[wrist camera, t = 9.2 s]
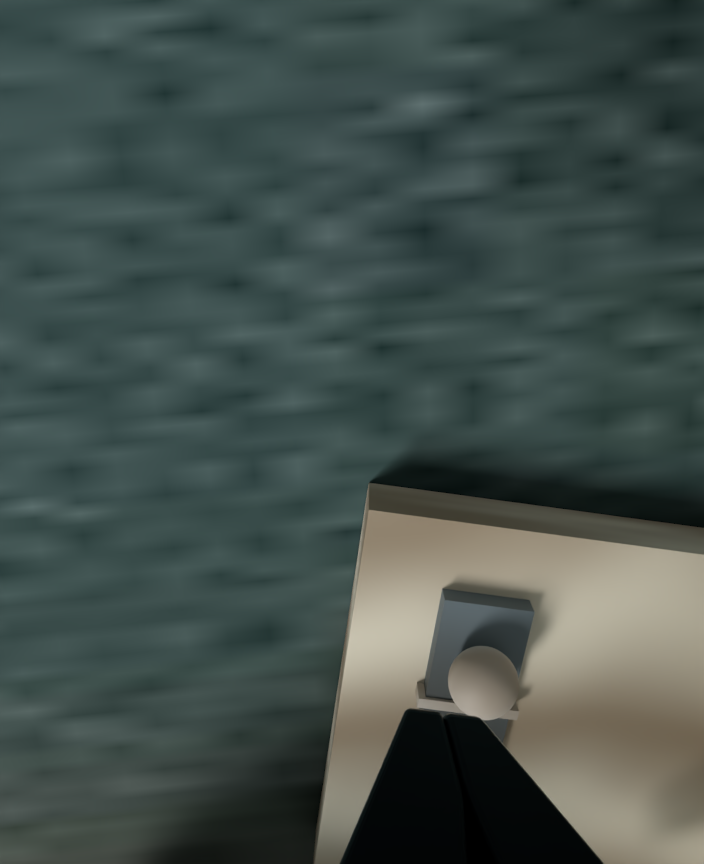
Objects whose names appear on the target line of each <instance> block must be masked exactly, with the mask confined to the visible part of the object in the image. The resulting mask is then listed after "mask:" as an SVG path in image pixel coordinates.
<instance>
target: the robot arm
mask: <svg viewBox="0 0 704 864" xmlns="http://www.w3.org/2000/svg"><path fill="white" fill-rule="evenodd" d="M340 864H604V863H603V862H602V860H601V859H600V858H599V857H598V856H597V855H596V853H595V852H594V851H593V850H592V849H591V847H590V846H589V845H588V844H587V843H586V842H585V840H584V839H583V838H582V837H581V836H580V834H579V833H578V832H577V831H576V830H575V829H574V827H573V826H572V825H571V824H570V823H569V821H568V820H567V819H566V818H565V817H564V815H563V814H562V813H561V812H560V811H559V810H558V808H557V807H556V806H555V805H554V804H553V802H552V801H551V800H550V799H549V798H548V797H547V795H546V794H545V793H544V792H543V791H542V789H541V788H540V787H539V786H538V785H537V784H536V782H535V781H534V780H533V779H532V778H531V776H530V775H529V774H528V773H527V772H526V770H525V769H524V768H523V767H522V766H521V765H520V763H519V762H518V761H517V760H516V759H515V757H514V756H513V755H512V754H511V753H510V752H509V750H508V749H507V748H506V747H505V746H504V744H503V743H502V742H501V741H500V740H499V739H498V737H497V736H496V735H495V734H494V733H493V731H492V730H491V729H490V728H489V727H488V725H487V724H486V723H485V722H484V721H483V720H482V719H481V718H479V717H476V716H470V715H462V714H454V713H447V714H445V715H444V716H442V714H440V713H439V712H437V711H431V710H423V709H415V708H409V709H407V710H406V711H405V712H404V714H403V716H402V719H401V721H400V723H399V726H398V728H397V731H396V733H395V735H394V738H393V740H392V742H391V745H390V747H389V749H388V752H387V754H386V756H385V759H384V761H383V763H382V766H381V768H380V770H379V773H378V775H377V777H376V780H375V782H374V784H373V787H372V789H371V791H370V794H369V796H368V798H367V801H366V803H365V805H364V808H363V810H362V812H361V815H360V817H359V819H358V822H357V824H356V826H355V829H354V831H353V834H352V836H351V838H350V841H349V843H348V845H347V848H346V850H345V852H344V855H343V857H342V859H341V862H340Z"/></svg>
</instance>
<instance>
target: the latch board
mask: <svg viewBox="0 0 704 864" xmlns="http://www.w3.org/2000/svg"><path fill="white" fill-rule="evenodd" d="M409 708H415V709H423V710H431V711H437V712H439V713H440V714H442V716H444V715H445V714H447V713H454V714H462V715H470V716H476V717H479V718H481V719H482V720H483V721H484V722H485V723H486V724H487V725H488V727H489V728H490V729H491V730H492V731H493V733H494V734H495V735H496V736H497V737H498V739H499V740H500V741H501V742H502V743H503V744H504V746H505V747H506V748H507V749H508V750H509V752H510V753H511V754H512V755H513V756H514V757H515V759H516V760H517V761H518V762H519V763H520V765H521V766H522V767H523V768H524V769H525V770H526V772H527V773H528V774H529V775H530V776H531V778H532V779H533V780H534V781H535V782H536V784H537V785H538V786H539V787H540V788H541V789H542V791H543V792H544V793H545V794H546V795H547V797H548V798H549V799H550V800H551V801H552V802H553V804H554V805H555V806H556V807H557V808H558V810H559V811H560V812H561V813H562V814H563V815H564V817H565V818H566V819H567V820H568V821H569V823H570V824H571V825H572V826H573V827H574V829H575V830H576V831H577V832H578V833H579V834H580V836H581V837H582V838H583V839H584V840H585V842H586V843H587V844H588V845H589V846H590V847H591V849H592V850H593V851H594V852H595V853H596V855H597V856H598V857H599V858H600V859H601V860H602V862H603V863H604V864H704V528H701V527H693V526H686V525H679V524H671V523H664V522H656V521H649V520H642V519H634V518H627V517H619V516H612V515H604V514H597V513H590V512H582V511H575V510H567V509H560V508H553V507H545V506H538V505H530V504H523V503H516V502H508V501H501V500H493V499H486V498H479V497H471V496H464V495H456V494H449V493H442V492H434V491H427V490H419V489H412V488H404V487H397V486H390V485H382V484H375V483H369V485H368V491H367V498H366V505H365V511H364V518H363V524H362V531H361V538H360V544H359V551H358V557H357V564H356V570H355V577H354V584H353V590H352V597H351V603H350V610H349V617H348V623H347V630H346V636H345V643H344V649H343V656H342V663H341V669H340V676H339V682H338V689H337V696H336V702H335V709H334V715H333V722H332V728H331V735H330V742H329V748H328V755H327V761H326V768H325V775H324V781H323V788H322V794H321V801H320V807H319V814H318V821H317V827H316V836H315V848H314V859H313V864H340V862H341V859H342V857H343V855H344V852H345V850H346V848H347V845H348V843H349V841H350V838H351V836H352V834H353V831H354V829H355V826H356V824H357V822H358V819H359V817H360V815H361V812H362V810H363V808H364V805H365V803H366V801H367V798H368V796H369V794H370V791H371V789H372V787H373V784H374V782H375V780H376V777H377V775H378V773H379V770H380V768H381V766H382V763H383V761H384V759H385V756H386V754H387V752H388V749H389V747H390V745H391V742H392V740H393V738H394V735H395V733H396V731H397V728H398V726H399V723H400V721H401V719H402V716H403V714H404V712H405V711H406V710H407V709H409Z"/></svg>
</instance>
